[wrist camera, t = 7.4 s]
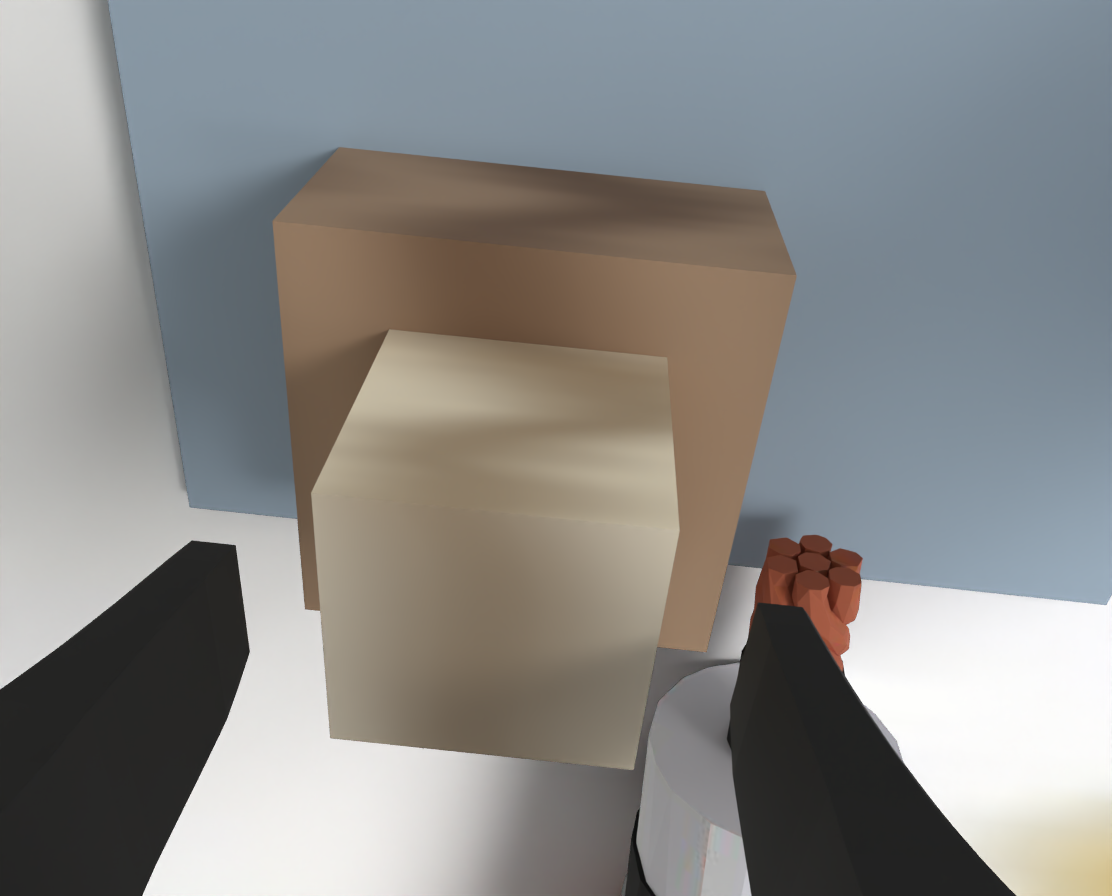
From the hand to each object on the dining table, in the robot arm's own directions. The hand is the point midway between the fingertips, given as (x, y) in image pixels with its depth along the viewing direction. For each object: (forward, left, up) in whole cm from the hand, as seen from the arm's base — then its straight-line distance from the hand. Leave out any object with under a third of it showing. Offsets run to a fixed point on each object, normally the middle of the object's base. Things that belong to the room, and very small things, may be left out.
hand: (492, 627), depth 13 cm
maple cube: (0, 0, -4) cm, 4 cm away
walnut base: (0, 0, -8) cm, 8 cm away
